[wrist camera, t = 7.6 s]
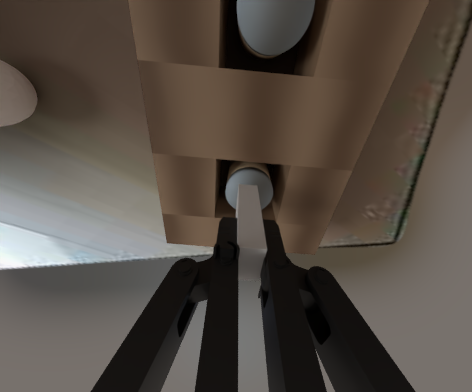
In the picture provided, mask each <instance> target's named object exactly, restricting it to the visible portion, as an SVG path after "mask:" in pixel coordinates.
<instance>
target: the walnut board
mask: <svg viewBox="0 0 472 392" xmlns="http://www.w3.org/2000/svg"><path fill="white" fill-rule="evenodd" d="M429 1H430V0H315V5H314V11H313V15H312V18H311V21H310V23H309V26H308V28H307V30H306V31H305V33H304V35H303V36H302V37H301V39H300V42H299V47H298V52H297V57H296V62H295V67H294V72H293V75H288V74H277V73H267V72H257V71H247V70H236V69H226V49H227V26H228V3H229V0H128V4H129V10H130V16H131V22H132V29H133V35H134V41H135V47H136V54H137V60H138V66H139V72H140V78H141V85H142V91H143V97H144V103H145V109H146V116H147V122H148V128H149V134H150V141H151V147H152V153H153V159H154V165H155V172H156V178H157V184H158V190H159V196H160V203H161V209H162V215H163V221H164V228H165V234H166V240H167V243H172V244H185V245H197V246H210V247H214V246H215V244H216V242H217V234H218V227H219V221H220V220H221V219H222V217H233V218H236V209H235V208H233V207H232V206H231V205H230V204H229V202H228V201H227V198H226V193H225V191H226V187H221V165H222V159H223V160H235V161H246V162H258V163H269V164H274V169H273V174H272V179H271V183H272V187H273V197H272V199H271V201H270V203H269V204H268V205H267V206H266V207H265V208H263V209H261V213H262V219H266V220H275V222H276V223H277V224H278V226H279V229H280V233H281V237H282V241H283V245H284V249H285V252H286V253H300V254H312V255H315V253H316V251H317V249H318V247H319V245H320V242H321V240H322V238H323V236H324V233H325V231H326V229H327V227H328V225H329V222H330V220H331V218H332V216H333V214H334V211H335V209H336V207H337V205H338V202H339V200H340V198H341V196H342V194H343V191H344V189H345V187H346V185H347V183H348V180H349V178H350V176H351V174H352V171H353V169H354V167H355V165H356V163H357V160H358V158H359V156H360V154H361V152H362V149H363V147H364V145H365V143H366V140H367V138H368V136H369V134H370V132H371V129H372V127H373V125H374V123H375V121H376V118H377V116H378V114H379V112H380V109H381V107H382V105H383V103H384V101H385V98H386V96H387V94H388V92H389V89H390V87H391V85H392V83H393V81H394V78H395V76H396V74H397V72H398V70H399V67H400V65H401V63H402V61H403V58H404V56H405V54H406V52H407V50H408V47H409V45H410V43H411V41H412V39H413V36H414V34H415V32H416V30H417V27H418V25H419V23H420V21H421V19H422V16H423V14H424V12H425V10H426V8H427V5H428V3H429Z"/></svg>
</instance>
